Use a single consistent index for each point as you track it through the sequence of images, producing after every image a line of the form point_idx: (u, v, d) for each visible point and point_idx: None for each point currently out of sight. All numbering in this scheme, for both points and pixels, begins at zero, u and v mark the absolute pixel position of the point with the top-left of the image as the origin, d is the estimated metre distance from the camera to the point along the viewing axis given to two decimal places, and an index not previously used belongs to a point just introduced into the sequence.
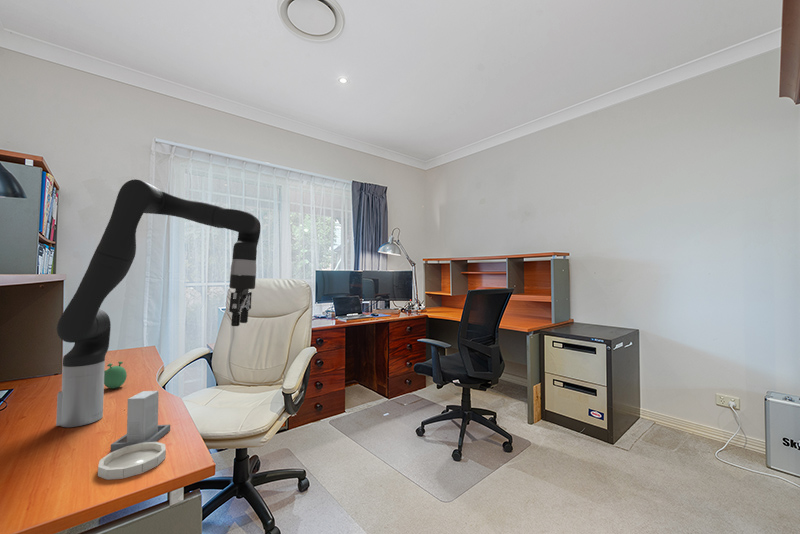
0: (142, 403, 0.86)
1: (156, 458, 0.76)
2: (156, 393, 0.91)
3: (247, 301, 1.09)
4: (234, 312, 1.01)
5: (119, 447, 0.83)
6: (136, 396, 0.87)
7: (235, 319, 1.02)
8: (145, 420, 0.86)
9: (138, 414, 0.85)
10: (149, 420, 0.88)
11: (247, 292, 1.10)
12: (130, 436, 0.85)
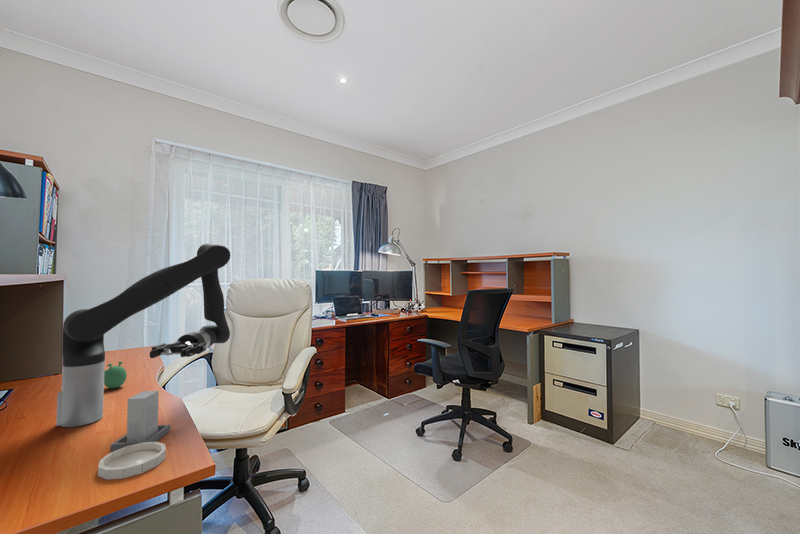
0: (142, 403, 0.86)
1: (156, 458, 0.76)
2: (156, 393, 0.91)
3: (174, 353, 1.07)
4: (196, 350, 1.04)
5: (119, 447, 0.83)
6: (136, 396, 0.87)
7: (189, 352, 1.02)
8: (145, 420, 0.86)
9: (137, 414, 0.85)
10: (149, 420, 0.88)
11: None
12: (130, 436, 0.85)
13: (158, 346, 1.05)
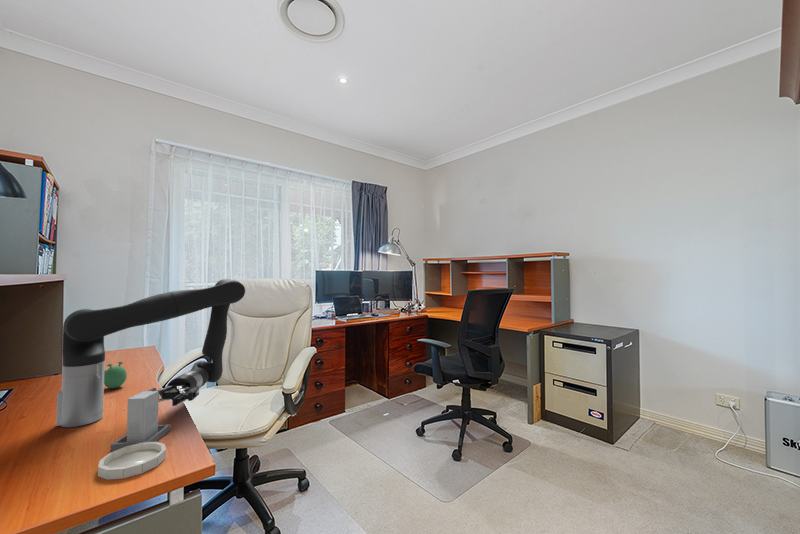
0: (142, 403, 0.86)
1: (156, 458, 0.76)
2: (156, 393, 0.91)
3: (164, 399, 1.02)
4: (188, 397, 1.00)
5: (119, 447, 0.83)
6: (136, 396, 0.87)
7: (181, 400, 0.98)
8: (145, 420, 0.86)
9: (138, 414, 0.85)
10: (149, 420, 0.88)
11: None
12: (130, 436, 0.85)
13: None
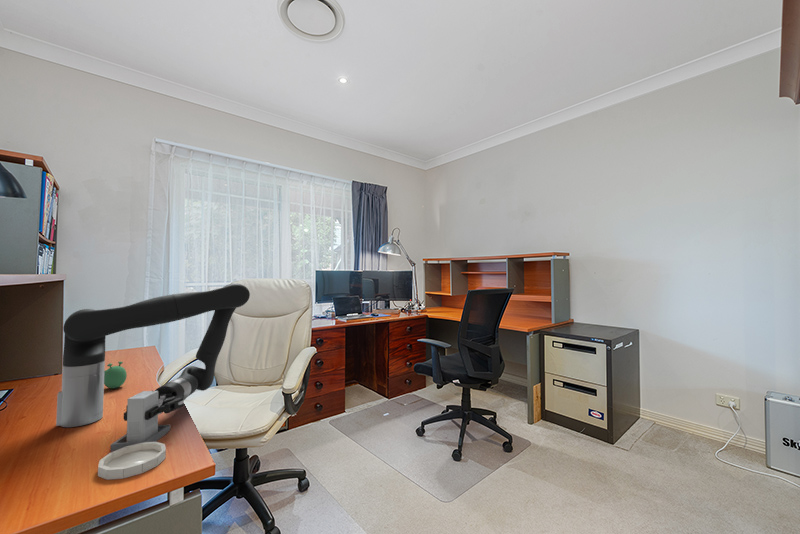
0: (142, 403, 0.86)
1: (156, 458, 0.76)
2: (156, 393, 0.91)
3: None
4: (164, 409, 0.90)
5: (119, 447, 0.83)
6: (136, 396, 0.87)
7: (155, 413, 0.88)
8: (145, 420, 0.86)
9: (137, 414, 0.85)
10: (149, 420, 0.88)
11: None
12: (130, 436, 0.85)
13: None
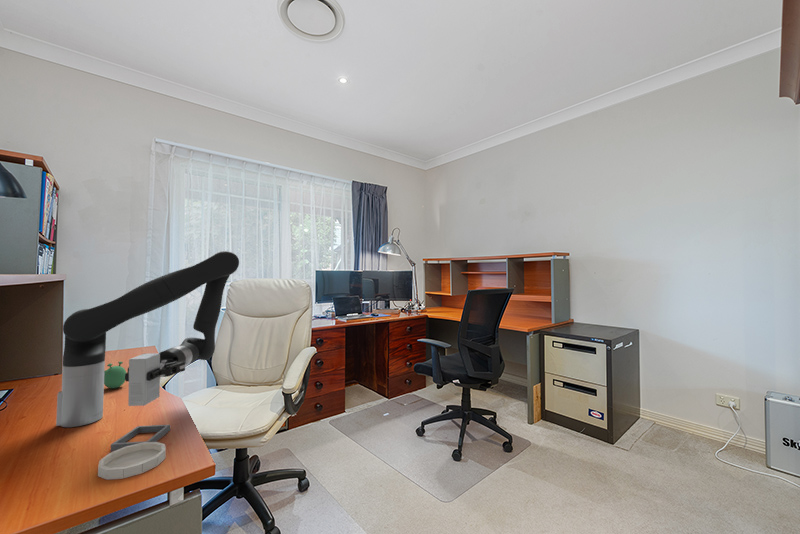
0: (144, 363, 0.85)
1: (156, 458, 0.76)
2: (158, 355, 0.90)
3: None
4: (166, 371, 0.90)
5: (119, 447, 0.83)
6: (137, 357, 0.86)
7: (157, 375, 0.87)
8: None
9: (139, 375, 0.85)
10: (151, 381, 0.87)
11: None
12: (132, 396, 0.84)
13: None
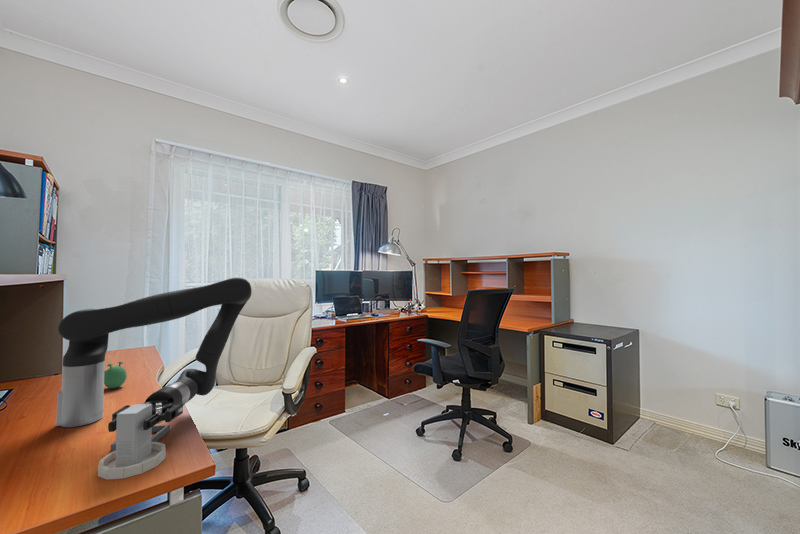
0: (134, 419, 0.75)
1: (156, 458, 0.76)
2: (149, 406, 0.80)
3: None
4: (165, 417, 0.80)
5: None
6: (126, 411, 0.76)
7: (155, 422, 0.78)
8: (137, 438, 0.75)
9: (128, 432, 0.74)
10: (142, 437, 0.77)
11: None
12: (120, 457, 0.74)
13: (121, 411, 0.80)
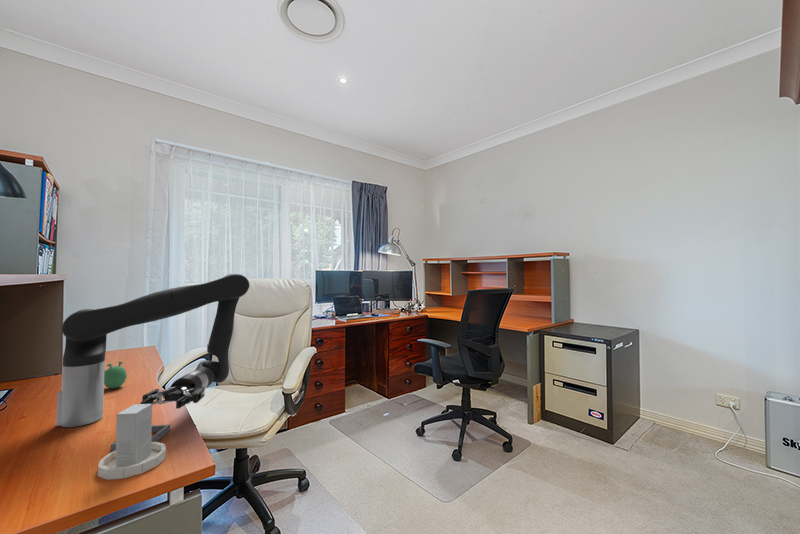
0: (134, 419, 0.75)
1: (156, 458, 0.76)
2: (149, 406, 0.80)
3: (168, 401, 0.94)
4: (193, 398, 0.93)
5: None
6: (126, 411, 0.76)
7: (185, 402, 0.90)
8: (137, 438, 0.75)
9: (128, 432, 0.74)
10: (142, 437, 0.77)
11: None
12: (120, 457, 0.74)
13: (150, 393, 0.93)
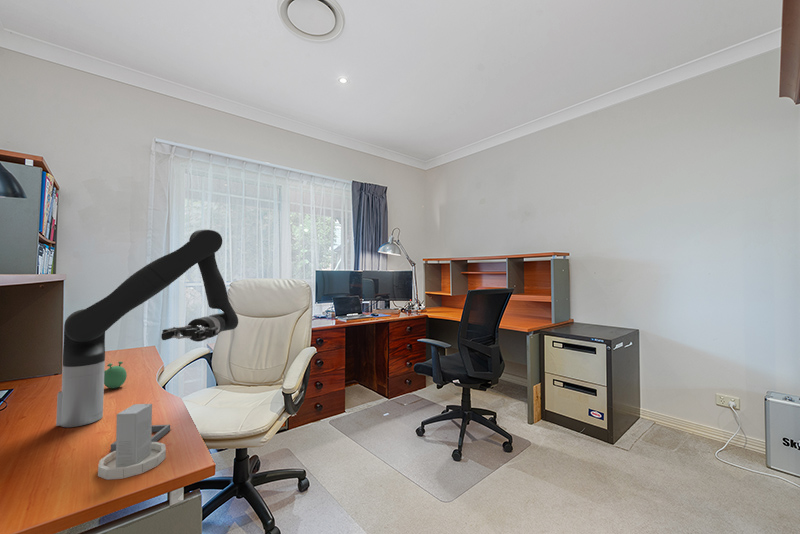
0: (134, 419, 0.75)
1: (156, 458, 0.76)
2: (149, 406, 0.80)
3: (185, 336, 1.04)
4: (208, 333, 1.02)
5: None
6: (126, 411, 0.76)
7: (202, 335, 1.00)
8: (137, 438, 0.75)
9: (128, 432, 0.74)
10: (142, 437, 0.77)
11: None
12: (120, 457, 0.74)
13: (169, 329, 1.02)
